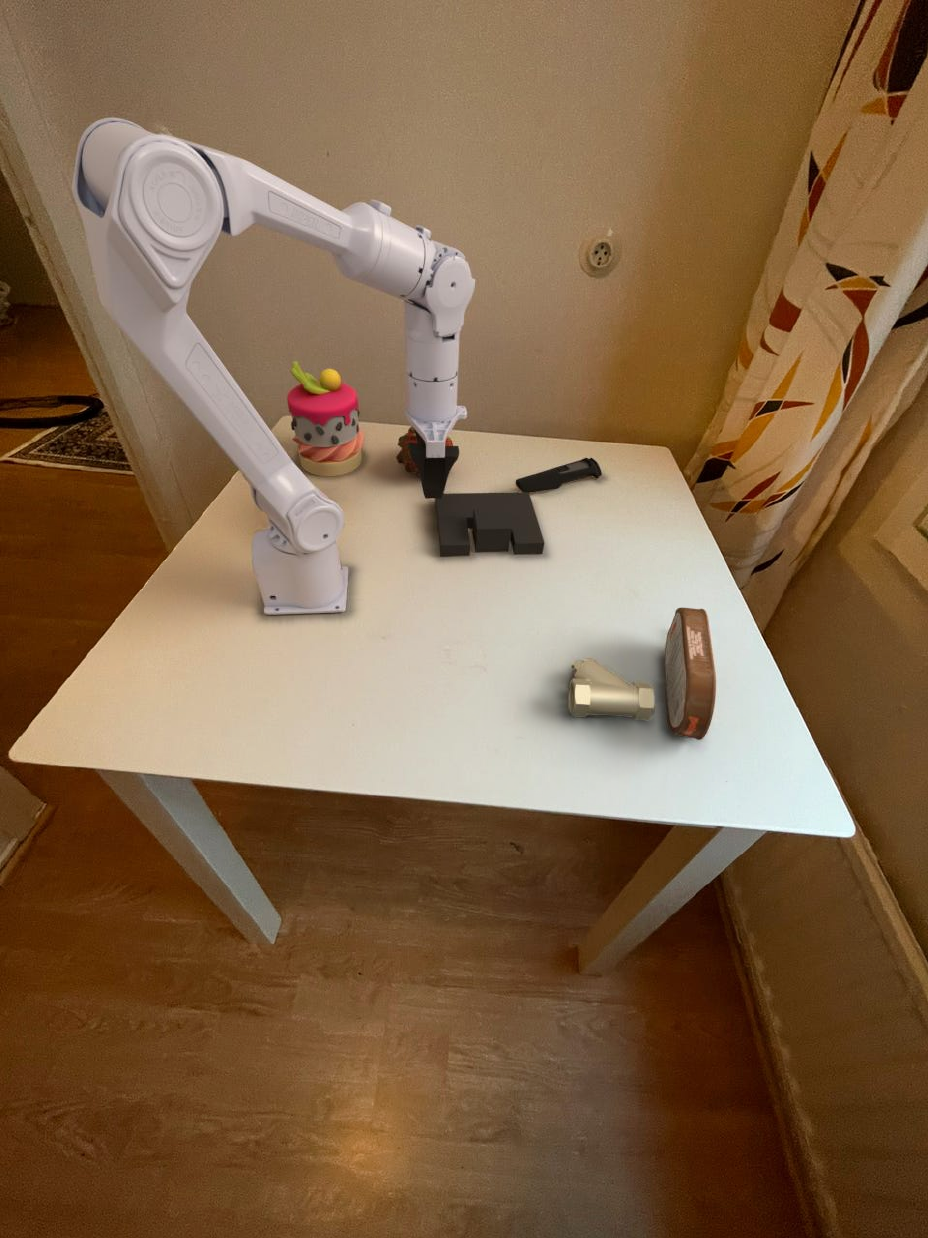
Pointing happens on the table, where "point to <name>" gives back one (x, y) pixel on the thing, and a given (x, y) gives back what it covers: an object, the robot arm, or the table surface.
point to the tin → (689, 674)
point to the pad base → (458, 508)
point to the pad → (491, 530)
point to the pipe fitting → (607, 693)
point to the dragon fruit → (404, 453)
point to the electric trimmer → (559, 476)
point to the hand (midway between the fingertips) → (431, 479)
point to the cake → (325, 423)
